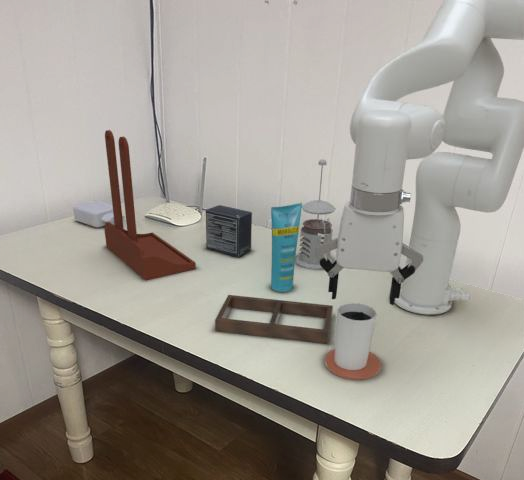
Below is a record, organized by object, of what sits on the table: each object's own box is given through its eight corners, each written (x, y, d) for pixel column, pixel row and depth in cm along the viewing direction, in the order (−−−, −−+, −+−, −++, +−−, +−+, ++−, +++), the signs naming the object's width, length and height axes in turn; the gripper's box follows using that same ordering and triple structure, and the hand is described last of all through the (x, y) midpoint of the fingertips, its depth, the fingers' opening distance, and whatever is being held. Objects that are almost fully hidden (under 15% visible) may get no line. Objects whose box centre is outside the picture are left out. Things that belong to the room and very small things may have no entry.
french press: (324, 252, 148) (333, 153, 135) (343, 269, 138) (355, 165, 125) (289, 255, 145) (295, 155, 132) (306, 273, 136) (314, 167, 123)
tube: (274, 295, 125) (278, 210, 115) (262, 287, 128) (265, 203, 118) (301, 288, 128) (307, 205, 118) (289, 280, 132) (294, 199, 122)
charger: (109, 233, 155) (75, 221, 162) (135, 225, 161) (100, 214, 169) (107, 217, 152) (72, 205, 160) (133, 209, 159) (98, 198, 166)
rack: (331, 316, 117) (332, 305, 116) (327, 343, 107) (328, 332, 106) (228, 305, 120) (228, 294, 119) (215, 331, 110) (215, 319, 109)
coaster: (380, 353, 105) (381, 350, 105) (380, 383, 96) (381, 380, 96) (327, 347, 106) (327, 344, 106) (322, 376, 98) (323, 373, 97)
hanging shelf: (195, 268, 136) (191, 138, 120) (145, 280, 129) (133, 144, 114) (153, 238, 153) (144, 120, 137) (106, 247, 146) (91, 124, 131)
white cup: (334, 349, 104) (340, 300, 99) (370, 355, 103) (378, 306, 98) (329, 367, 99) (334, 317, 94) (367, 374, 98) (374, 323, 92)
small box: (252, 250, 147) (253, 211, 142) (238, 258, 142) (239, 217, 137) (220, 242, 152) (219, 203, 147) (205, 249, 147) (204, 209, 142)
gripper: (431, 195, 88) (413, 293, 97) (320, 187, 90) (313, 284, 99) (435, 210, 82) (416, 314, 91) (316, 202, 84) (309, 303, 93)
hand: (362, 298), depth 95 cm, fingers open, 9 cm apart
